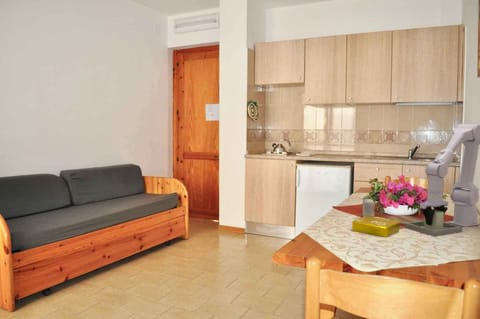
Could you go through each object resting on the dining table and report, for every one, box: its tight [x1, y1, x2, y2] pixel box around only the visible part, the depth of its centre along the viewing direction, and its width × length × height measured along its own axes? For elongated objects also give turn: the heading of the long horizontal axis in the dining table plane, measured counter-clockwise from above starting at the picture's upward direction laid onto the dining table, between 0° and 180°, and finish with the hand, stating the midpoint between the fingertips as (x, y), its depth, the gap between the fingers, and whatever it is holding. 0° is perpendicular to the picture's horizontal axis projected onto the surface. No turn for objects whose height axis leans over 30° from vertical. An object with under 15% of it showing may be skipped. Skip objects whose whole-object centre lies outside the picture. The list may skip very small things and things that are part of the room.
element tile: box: [351, 216, 400, 238], centre depth 160 cm, size 15×15×5 cm
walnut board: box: [383, 214, 424, 227], centre depth 176 cm, size 14×12×1 cm
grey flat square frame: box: [404, 221, 464, 237], centre depth 162 cm, size 17×14×2 cm
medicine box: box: [361, 198, 375, 218], centre depth 179 cm, size 8×4×9 cm, turn 168°
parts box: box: [423, 210, 445, 231], centre depth 162 cm, size 4×6×8 cm, turn 25°
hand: (433, 224), depth 162 cm, fingers open, 5 cm apart
